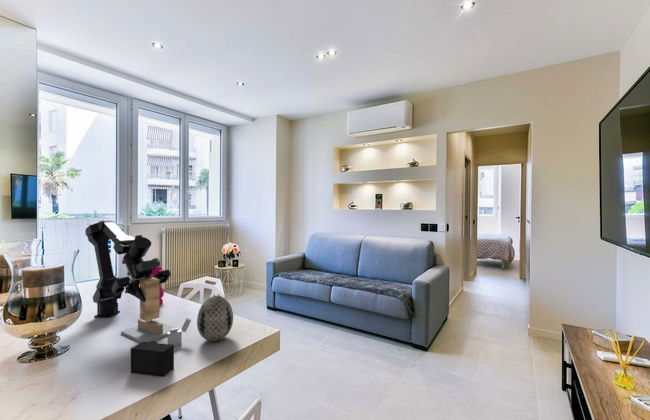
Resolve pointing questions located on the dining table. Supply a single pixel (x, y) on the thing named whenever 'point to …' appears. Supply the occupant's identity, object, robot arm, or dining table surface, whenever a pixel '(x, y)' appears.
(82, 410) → the dining table surface
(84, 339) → the dining table surface
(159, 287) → the pepper mill
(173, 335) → the lighter
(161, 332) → the ridge stand
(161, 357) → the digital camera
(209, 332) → the decorative egg
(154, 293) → the oak block
